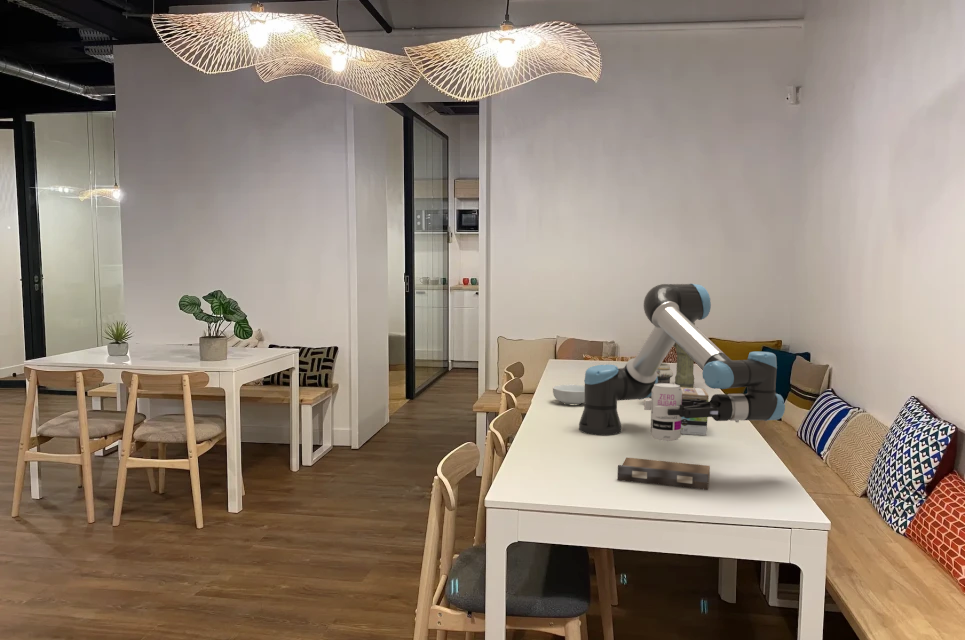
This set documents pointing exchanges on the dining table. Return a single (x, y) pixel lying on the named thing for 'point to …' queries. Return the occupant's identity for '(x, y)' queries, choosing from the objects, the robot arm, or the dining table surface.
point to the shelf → (664, 473)
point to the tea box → (694, 424)
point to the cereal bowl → (569, 393)
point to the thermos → (684, 368)
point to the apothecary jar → (664, 373)
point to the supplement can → (666, 425)
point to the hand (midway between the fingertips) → (649, 408)
